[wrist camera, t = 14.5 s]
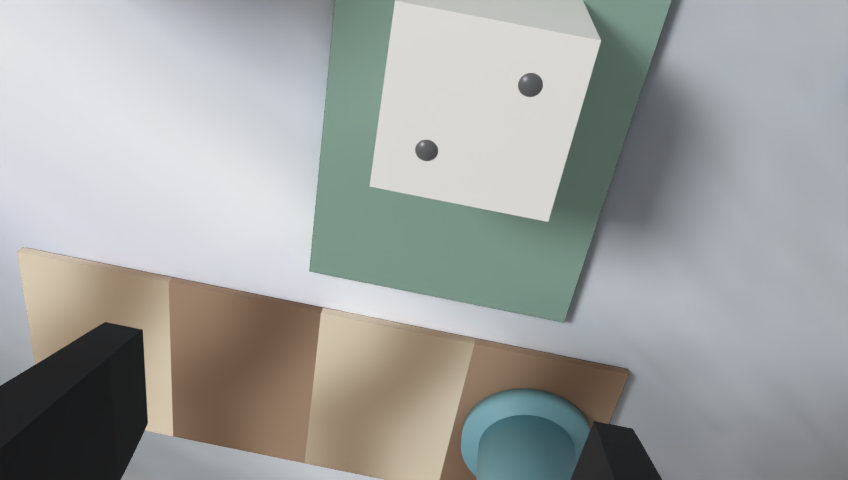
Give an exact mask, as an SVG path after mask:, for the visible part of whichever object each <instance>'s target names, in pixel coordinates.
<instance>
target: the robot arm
mask: <svg viewBox="0 0 848 480" xmlns="http://www.w3.org/2000/svg"><path fill="white" fill-rule="evenodd" d="M147 424H148V415H147V397H146V379H145V361H144V343H143V330H142V329H137V328H133V327H128V326H123V325H118V324H113V323H108V322H104V323H103V324H101V325H99V326H98V327H96V328H94V329H92V330H91V331H89V332H87V333H86V334H84V335H83V336H81V337H79V338H78V339H76V340H74V341H73V342H71V343H70V344H68V345H66V346H65V347H63V348H62V349H60V350H58V351H57V352H55V353H53V354H52V355H50V356H49V357H47V358H45V359H44V360H42V361H41V362H39V363H37V364H36V365H34V366H32V367H31V368H29V369H28V370H26V371H24V372H23V373H21V374H19V375H18V376H16V377H14V378H13V379H11V380H9V381H8V382H6V383H4V384H3V385H1V386H0V480H121V478H122V476H123V474H124V472H125V470H126V468H127V466H128V464H129V462H130V460H131V458H132V456H133V454H134V452H135V450H136V447H137V445H138V443H139V441H140V439H141V437H142V435H143V433H144V430H145V428H146V426H147ZM571 480H662V479H661V477H660V475H659V474H658V472H657V470H656V468H655V467H654V465H653V463H652V461H651V459H650V458H649V456H648V454H647V452H646V451H645V449H644V447H643V445H642V444H641V442H640V440H639V438H638V437H637V435H636V433H635V432H634V430H633V429H631V428H626V427H621V426H616V425H611V424H606V423H601V422H596V421H594V422H593V425H592V427H591V430H590V432H589V435H588V437H587V440H586V442H585V445H584V447H583V450H582V452H581V455H580V457H579V460H578V462H577V465H576V467H575V470H574V472H573V475H572V477H571Z"/></svg>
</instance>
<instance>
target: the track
mask: <svg viewBox="0 0 848 480" xmlns="http://www.w3.org/2000/svg"><path fill="white" fill-rule="evenodd" d="M17 254H18V260H19V266H20V273H21V279H22V285H23V291H24V297H25V304H26V310H27V316H28V322H29V329H30V335H31V341H32V347H33V354H34V360H35V365H36V364H37V363H39V362H41V361H42V360H44V359H45V358H47V357H49V356H50V355H52V354H53V353H55V352H57V351H58V350H60V349H62V348H63V347H65V346H66V345H68V344H70V343H71V342H73V341H74V340H76V339H78V338H79V337H81V336H83V335H84V334H86V333H87V332H89V331H91V330H92V329H94V328H96V327H98V326H99V325H101V324H103V323H104V322H108V323H113V324H118V325H123V326H128V327H133V328H137V329H142V330H143V343H144V361H145V379H146V397H147V415H148V424H147V426H146V428H145V431H150V432H155V433H160V434H165V435H170V436H175V437H180V438H184V439H189V440H194V441H199V442H204V443H209V444H214V445H219V446H223V447H228V448H233V449H238V450H243V451H248V452H253V453H258V454H262V455H267V456H272V457H277V458H282V459H287V460H292V461H297V462H301V463H306V464H311V465H316V466H321V467H326V468H331V469H336V470H341V471H345V472H350V473H355V474H360V475H365V476H370V477H375V478H380V479H384V480H476V476H475V475H474V474H473V473H472V472H471V471H470V470H469V468H468V467H467V465H466V463H465V462H464V459H463V457H462V452H461V437H462V429H463V424H464V421H465V418H466V416H467V415H468V413H469V412H470V410H471V409H472V408H473V407H474V406H475V405H476V404H477V403H478V402H480V401H481V400H483V399H484V398H486V397H488V396H490V395H492V394H495V393H497V392H500V391H504V390H509V389H517V388H531V389H539V390H544V391H548V392H551V393H554V394H556V395H559V396H561V397H563V398H565V399H566V400H568V401H570V402H571V403H572V404H574V405H575V406H576V407H577V408H578V409H579V410H580V411H581V412H582V413H583V415H584V416H585V418H586V419H587V421H588V423H589V426H590V429H591V427H592V425H593V422H594V421H596V422H601V423H606V424H609V422H610V419H611V417H612V414H613V412H614V410H615V407H616V405H617V402H618V400H619V398H620V395H621V393H622V390H623V388H624V385H625V383H626V381H627V378H628V376H629V374H628V369H625V368H620V367H615V366H610V365H605V364H600V363H595V362H590V361H585V360H580V359H575V358H570V357H565V356H560V355H555V354H550V353H545V352H541V351H536V350H531V349H526V348H521V347H516V346H511V345H506V344H501V343H496V342H491V341H486V340H481V339H476V338H471V337H466V336H461V335H456V334H451V333H446V332H441V331H436V330H431V329H426V328H421V327H416V326H411V325H407V324H402V323H397V322H392V321H387V320H382V319H377V318H372V317H367V316H362V315H357V314H352V313H347V312H342V311H337V310H332V309H327V308H322V307H317V306H312V305H307V304H302V303H297V302H292V301H287V300H282V299H277V298H272V297H268V296H263V295H258V294H253V293H248V292H243V291H238V290H233V289H228V288H223V287H218V286H213V285H208V284H203V283H198V282H193V281H188V280H183V279H178V278H173V277H168V276H163V275H158V274H153V273H148V272H143V271H138V270H134V269H129V268H124V267H119V266H114V265H109V264H104V263H99V262H94V261H89V260H84V259H79V258H74V257H69V256H64V255H59V254H54V253H49V252H44V251H39V250H34V249H29V248H24V247H23V248H21V249H20V250H19V251H18V252H17Z"/></svg>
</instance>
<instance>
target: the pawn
mask: <svg viewBox="0 0 848 480" xmlns="http://www.w3.org/2000/svg"><path fill="white" fill-rule="evenodd" d="M590 430H591V429H590V426H589V423H588V421H587V419H586V418H585V416H584V415H583V413H582V412H581V411H580V410H579V409H578V408H577V407H576V406H575V405H574V404H572V403H571V402H570V401H568V400H566V399H565V398H563V397H561V396H559V395H556V394H554V393H551V392H548V391H544V390H539V389H531V388H517V389H509V390H504V391H500V392H497V393H495V394H492V395H490V396H488V397H486V398H484V399H483V400H481V401H480V402H478V403H477V404H476V405H475V406H474V407H473V408H472V409H471V410H470V412H469V413H468V415H467V416H466V418H465V421H464V424H463V429H462V437H461V452H462V457H463V459H464V462H465V463H466V465H467V467H468V468H469V470H470V471H471V472H472V473H473V474H474V475H475V476H476V480H571V477H572V475H573V472H574V470H575V467H576V465H577V462H578V460H579V457H580V455H581V452H582V450H583V447H584V445H585V442H586V440H587V437H588V435H589V432H590Z"/></svg>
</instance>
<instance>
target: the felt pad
mask: <svg viewBox="0 0 848 480" xmlns="http://www.w3.org/2000/svg"><path fill="white" fill-rule="evenodd" d="M583 2H584V4H585V6H586V8H587V10H588V13H589V15H590V17H591V19H592V21H593V24H594V26H595V28H596V30H597V33H598V35H599V37H600V39H601V43H600V46H599V50H598V53H597V57H596V60H595V63H594V67H593V70H592V74H591V77H590V80H589V84H588V87H587V91H586V94H585V98H584V101H583V104H582V108H581V111H580V115H579V118H578V122H577V125H576V128H575V132H574V135H573V139H572V142H571V145H570V149H569V152H568V156H567V159H566V163H565V166H564V169H563V173H562V176H561V180H560V183H559V187H558V190H557V193H556V197H555V200H554V204H553V207H552V210H551V214H550V217H549V221H548V222H546V221H541V220H536V219H531V218H526V217H521V216H516V215H511V214H506V213H501V212H496V211H491V210H485V209H480V208H475V207H470V206H465V205H460V204H455V203H450V202H445V201H440V200H435V199H430V198H425V197H420V196H415V195H410V194H405V193H400V192H395V191H390V190H385V189H380V188H375V187H369V186H370V179H371V172H372V164H373V157H374V150H375V142H376V135H377V128H378V120H379V113H380V106H381V99H382V91H383V84H384V77H385V69H386V62H387V55H388V47H389V40H390V33H391V26H392V18H393V11H394V4H395V0H335V5H334V15H333V26H332V37H331V47H330V58H329V68H328V79H327V89H326V100H325V111H324V121H323V132H322V142H321V153H320V163H319V174H318V185H317V195H316V206H315V216H314V227H313V237H312V248H311V259H310V269H309V271H310V272H315V273H320V274H325V275H330V276H335V277H340V278H345V279H350V280H355V281H360V282H365V283H370V284H375V285H380V286H385V287H390V288H395V289H400V290H405V291H410V292H415V293H420V294H425V295H430V296H435V297H440V298H445V299H450V300H455V301H460V302H465V303H470V304H474V305H479V306H484V307H489V308H494V309H499V310H504V311H509V312H514V313H519V314H524V315H529V316H534V317H539V318H544V319H549V320H554V321H559V322H564V320H565V317H566V315H567V312H568V309H569V306H570V303H571V300H572V297H573V294H574V291H575V288H576V285H577V282H578V279H579V276H580V273H581V270H582V267H583V264H584V261H585V258H586V255H587V252H588V249H589V246H590V243H591V240H592V237H593V234H594V231H595V228H596V225H597V222H598V219H599V216H600V213H601V210H602V207H603V204H604V201H605V198H606V195H607V192H608V189H609V186H610V183H611V180H612V177H613V174H614V171H615V168H616V165H617V162H618V159H619V156H620V153H621V150H622V147H623V144H624V141H625V138H626V135H627V132H628V129H629V126H630V123H631V120H632V117H633V114H634V111H635V108H636V105H637V102H638V99H639V96H640V93H641V90H642V87H643V84H644V81H645V78H646V75H647V72H648V69H649V66H650V63H651V60H652V57H653V54H654V51H655V48H656V45H657V42H658V39H659V36H660V33H661V30H662V27H663V24H664V21H665V18H666V15H667V12H668V9H669V6H670V3H671V0H583Z"/></svg>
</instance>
